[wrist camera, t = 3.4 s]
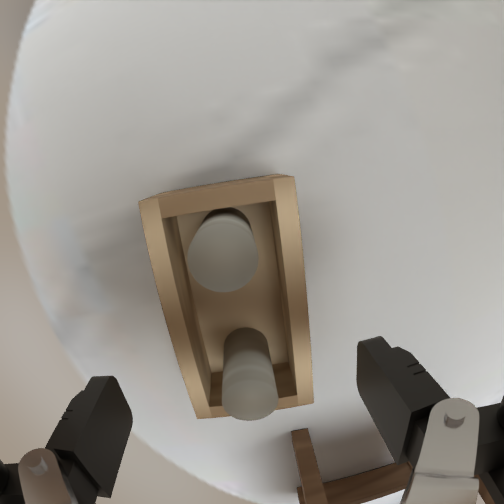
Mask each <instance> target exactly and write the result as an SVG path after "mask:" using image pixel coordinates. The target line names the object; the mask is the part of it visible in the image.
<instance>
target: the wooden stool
mask: <svg viewBox="0 0 504 504" xmlns="http://www.w3.org/2000/svg"><path fill="white" fill-rule="evenodd" d="M291 433H292V442H293V447H294V451H295V456H296V461H297V465H298V470H299V475H300V480H301V484H302V487H297V492H298V498H299V503H300V504H361V503H365V502H368V501H371V500H374V499H377V498H380V497H383V496H386V495H389V494H392V493H395V492H398V491H400V490H403V489H405V488H406V485H407V483H408V480H409V477H410V474H411V471H412V468H413V467H412V466H411V464H410V462H409V461H408V462H405V463H403V464H400V465H397V464H396V463H393V464H390V465H387V466H384V467H381V468H378V469H375V470H372V471H368V472H365V473H361V474H358V475H354V476H351V477H347V478H343V479H339V480H335V481H331V482H326V483H322V480H321V476H320V472H319V469H318V465H317V461H316V458H315V454H314V450H313V446H312V443H311V439H310V436H309V432H308V428H307V429H301V430H296V431H291ZM474 477H477V478H478V479H479V489H478V492H479V494H480V495H481V497H482V499H483V500H484V502H485V504H495V503H494V501H493V499H492V497H491V496H490V494H489V492H488V490H487V489H486V487H485V485H484V483H483V482H482V480H481V478H480V477H479V475H474Z"/></svg>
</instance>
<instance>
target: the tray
mask: <svg viewBox="0 0 504 504" xmlns="http://www.w3.org/2000/svg"><path fill="white" fill-rule="evenodd" d="M138 203H139V209H140V214H141V219H142V224H143V229H144V234H145V238H146V243H147V247H148V252H149V256H150V261H151V265H152V269H153V273H154V278H155V282H156V286H157V290H158V294H159V297H160V301H161V305H162V309H163V312H164V316H165V320H166V323H167V327H168V330H169V334H170V337H171V341H172V344H173V347H174V351H175V354H176V357H177V360H178V364H179V367H180V370H181V373H182V376H183V379H184V382H185V385H186V388H187V391H188V394H189V397H190V400H191V403H192V405H193V408H194V411H195V414H196V417H197V419H204V418H216V417H226V416H232V417H234V418H236V419H240V420H246V421H252V420H258V419H262V418H264V417H266V416H268V415H270V414H271V413H272V412H273V411H274V410H279V409H285V408H291V407H296V406H302V405H307V404H312V403H314V398H313V377H312V360H311V344H310V330H309V316H308V304H307V292H306V280H305V270H304V259H303V249H302V240H301V230H300V221H299V213H298V204H297V196H296V188H295V180H294V176H288V175H282V174H275V175H268V176H260V177H253V178H246V179H239V180H233V181H226V182H220V183H214V184H208V185H202V186H196V187H191V188H185V189H179V190H174V191H169V192H163V193H160V194H157V195H154V196H152V197H149V198H147V199H144V200H142V201H139V202H138Z"/></svg>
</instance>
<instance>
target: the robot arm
mask: <svg viewBox="0 0 504 504" xmlns="http://www.w3.org/2000/svg"><path fill="white" fill-rule="evenodd" d="M357 387H358V391H359V394H360V396H361V398H362V400H363V402H364V404H365V406H366V407H367V409H368V411H369V413H370V415H371V417H372V419H373V420H374V422H375V424H376V426H377V428H378V430H379V432H380V434H381V436H382V437H383V439H384V441H385V443H386V445H387V447H388V449H389V451H390V453H391V455H392V457H393V458H394V460H395V462H396V464H397V465H400V464H403V463H405V462H408V461H409V462H410V464H411V466H412V467H413V468H412V471H411V474H410V477H409V480H408V483H407V485H406V488H405V491H404V494H403V497H402V499H401V502H400V504H476V501H477V495H478V489H479V479H478V478H477V477H474V475H479V477H480V478H481V480H482V482H483V483H484V485H485V487H486V489H487V490H488V492H489V494H490V496H491V497H492V499H493V501H494V503H495V504H504V396H503V399H502V401H501V403H498V404H493V405H489V406H484V407H478V408H476V407H475V405H473V404H472V403H471V402H469V401H467V400H464V399H460V398H450V397H449V396H448V395H447V394H446V392H445V391H444V390H443V389H442V388H441V387H440V385H439V384H438V383H437V382H436V381H435V380H434V379H433V377H432V376H431V375H430V374H429V373H428V372H426V369H425V368H424V367H423V366H422V365H421V364H419V362H418V360H417V359H416V358H415V357H414V356H413V355H412V354H411V353H410V352H408V351H406V350H404V349H402V348H400V347H395V348H391V347H390V345H389V344H388V343H387V342H386V341H385V339H384V338H383V337H381V336H379V337H375V338H371V339H367V340H363V341H359V343H358V346H357ZM132 423H133V418H132V412H131V409H130V407H129V405H128V403H127V401H126V399H125V397H124V394H123V392H122V390H121V388H120V386H119V383H118V381H117V379H116V378H115V377H114V376H94V377H92V378H91V379H90V381H89V383H88V384H87V386H86V388H85V390H84V391H81V392H80V393H79V394H77V395H76V396H75V397H74V398H73V399H72V400H71V402H70V403H69V405H68V407H67V409H66V412H64V414H63V416H62V420H60V421H59V423H58V425H57V426H56V428H55V430H54V432H53V434H52V436H51V437H50V439H49V441H48V443H47V445H46V447H45V448H38V449H34V450H32V451H30V452H28V453H26V454H25V455H24V456H23V457H22V459H21V460H20V462H19V463H16V464H3V462H2V461H1V460H0V504H96V503H95V502H96V498H97V496H100V497H107V498H111V495H112V491H113V487H114V484H115V481H116V477H117V473H118V470H119V467H120V464H121V460H122V457H123V454H124V450H125V447H126V444H127V440H128V437H129V434H130V431H131V428H132Z"/></svg>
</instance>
